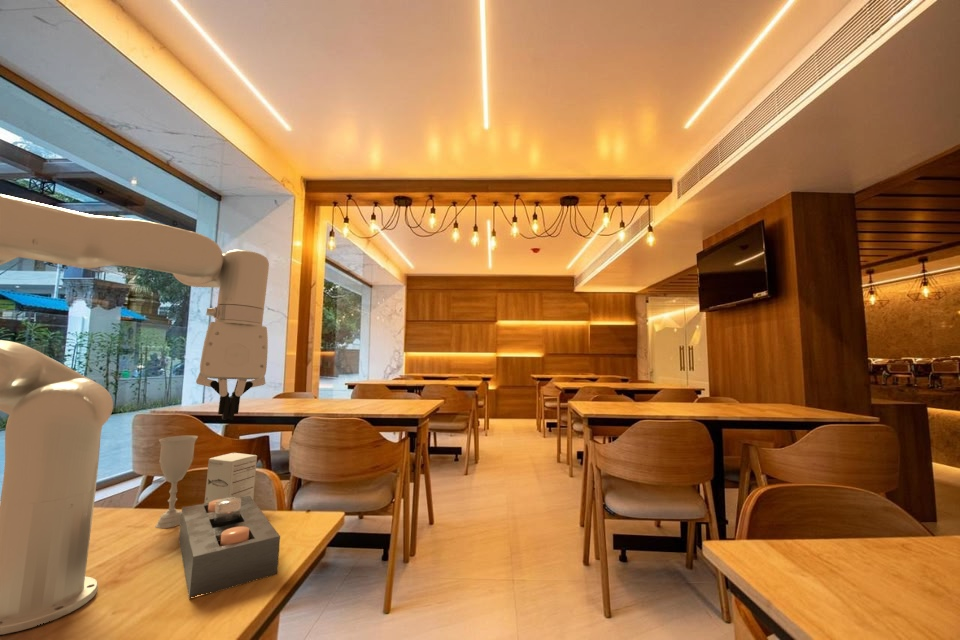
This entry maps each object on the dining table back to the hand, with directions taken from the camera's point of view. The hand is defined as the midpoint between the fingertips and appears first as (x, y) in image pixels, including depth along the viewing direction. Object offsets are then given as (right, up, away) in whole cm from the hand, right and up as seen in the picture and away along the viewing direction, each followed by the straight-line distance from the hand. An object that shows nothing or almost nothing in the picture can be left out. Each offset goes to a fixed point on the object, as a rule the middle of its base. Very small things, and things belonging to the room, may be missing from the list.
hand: (227, 418), depth 72 cm
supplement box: (-14, -28, +23) cm, 38 cm away
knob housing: (-1, -25, +1) cm, 25 cm away
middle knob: (-1, -19, +2) cm, 19 cm away
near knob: (+4, -21, -5) cm, 22 cm away
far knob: (-7, -22, +9) cm, 25 cm away
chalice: (-22, -27, +15) cm, 38 cm away
